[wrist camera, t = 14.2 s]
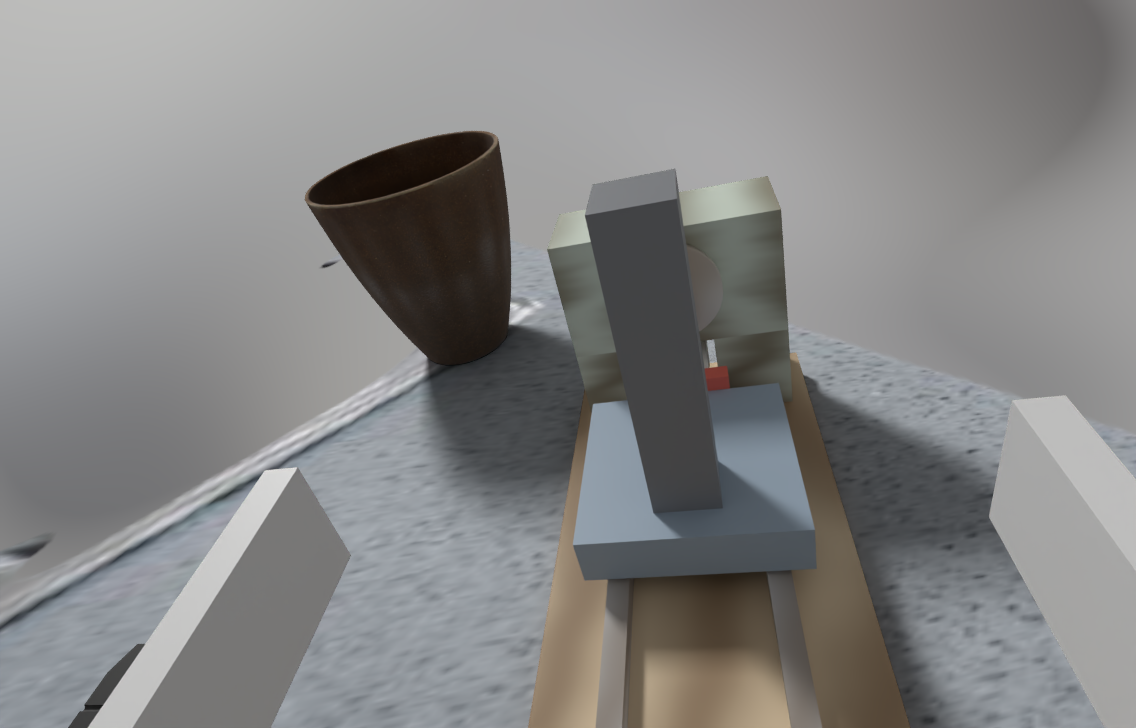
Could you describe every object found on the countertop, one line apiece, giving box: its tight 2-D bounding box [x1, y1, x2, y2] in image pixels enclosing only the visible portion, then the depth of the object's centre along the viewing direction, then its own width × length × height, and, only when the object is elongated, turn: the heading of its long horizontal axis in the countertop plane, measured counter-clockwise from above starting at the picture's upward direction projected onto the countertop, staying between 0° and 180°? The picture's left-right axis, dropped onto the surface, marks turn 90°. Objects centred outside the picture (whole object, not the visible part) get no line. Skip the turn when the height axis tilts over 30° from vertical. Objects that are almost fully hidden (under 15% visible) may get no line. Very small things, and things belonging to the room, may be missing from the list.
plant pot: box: [305, 131, 511, 365], centre depth 53 cm, size 15×15×16 cm
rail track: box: [528, 176, 910, 728], centre depth 26 cm, size 14×38×14 cm, turn 173°
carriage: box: [573, 169, 817, 581], centre depth 28 cm, size 10×10×16 cm
